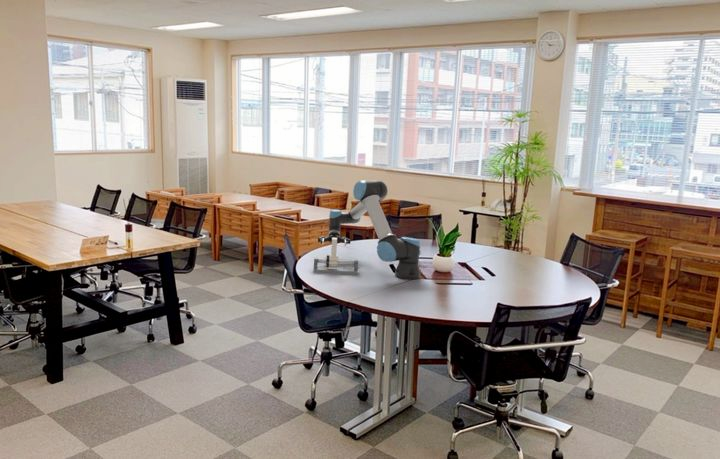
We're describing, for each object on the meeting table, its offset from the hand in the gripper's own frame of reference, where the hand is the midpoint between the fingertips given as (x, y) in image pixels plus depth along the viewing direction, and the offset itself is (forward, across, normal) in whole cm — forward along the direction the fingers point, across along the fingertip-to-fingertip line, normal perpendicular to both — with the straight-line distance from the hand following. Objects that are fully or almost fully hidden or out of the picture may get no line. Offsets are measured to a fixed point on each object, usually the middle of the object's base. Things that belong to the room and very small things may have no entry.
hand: (334, 243), depth 355 cm
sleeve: (+9, 0, -13) cm, 16 cm away
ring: (+9, +3, -13) cm, 16 cm away
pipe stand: (+9, -2, -15) cm, 18 cm away
